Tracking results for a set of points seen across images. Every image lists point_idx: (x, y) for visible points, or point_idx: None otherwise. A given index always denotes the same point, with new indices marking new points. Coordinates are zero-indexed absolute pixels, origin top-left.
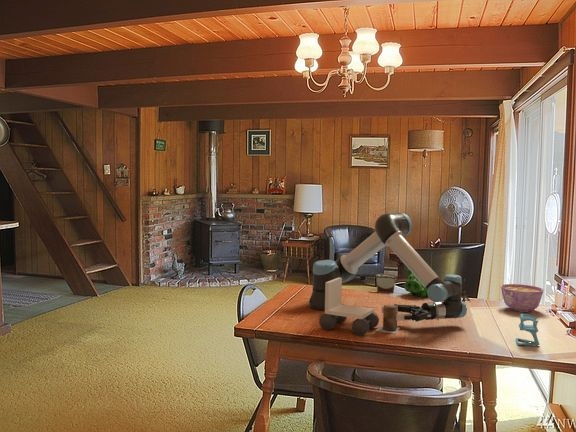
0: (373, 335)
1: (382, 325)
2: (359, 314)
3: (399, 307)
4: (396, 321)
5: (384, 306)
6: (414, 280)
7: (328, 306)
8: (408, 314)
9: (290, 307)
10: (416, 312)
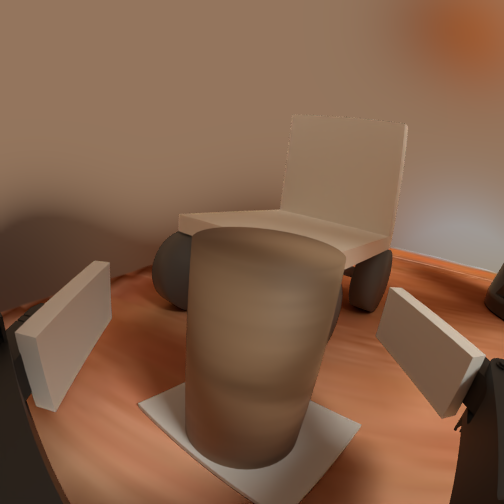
0: (162, 330)
1: (342, 417)
2: (204, 216)
3: (486, 403)
4: (196, 392)
5: (269, 230)
6: None
7: (282, 195)
8: (35, 319)
9: (470, 280)
10: (13, 461)
